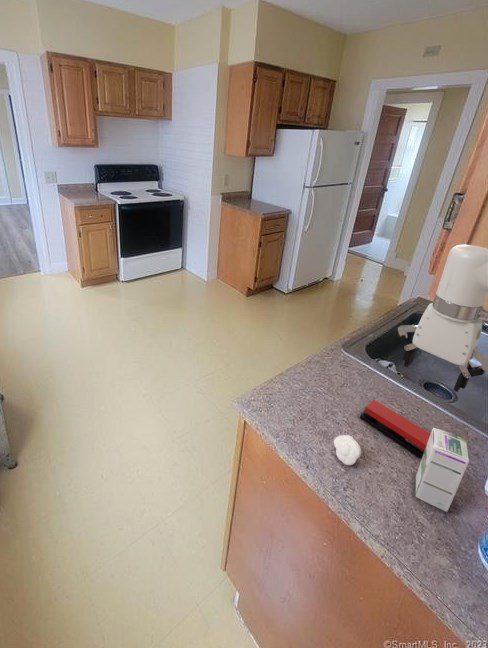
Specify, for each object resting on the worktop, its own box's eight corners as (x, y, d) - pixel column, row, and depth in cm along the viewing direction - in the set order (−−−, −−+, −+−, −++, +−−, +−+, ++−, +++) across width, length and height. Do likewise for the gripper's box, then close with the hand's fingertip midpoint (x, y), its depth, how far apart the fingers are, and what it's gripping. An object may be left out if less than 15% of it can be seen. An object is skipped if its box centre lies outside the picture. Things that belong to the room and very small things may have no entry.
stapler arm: (435, 443, 76) (437, 437, 75) (427, 453, 73) (430, 447, 73) (371, 404, 87) (373, 398, 86) (363, 411, 84) (365, 406, 84)
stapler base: (434, 451, 77) (437, 445, 76) (426, 463, 74) (429, 456, 73) (368, 409, 88) (370, 403, 88) (359, 418, 86) (361, 412, 85)
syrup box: (448, 513, 64) (472, 461, 58) (413, 497, 67) (433, 446, 61) (446, 489, 68) (468, 439, 63) (413, 474, 71) (432, 425, 66)
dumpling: (364, 466, 73) (366, 457, 71) (342, 471, 73) (344, 462, 71) (348, 436, 79) (350, 427, 77) (328, 441, 79) (329, 432, 76)
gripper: (517, 319, 60) (485, 391, 66) (415, 287, 73) (397, 350, 79) (507, 332, 56) (474, 408, 62) (401, 295, 68) (383, 362, 75)
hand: (431, 375), depth 70 cm, fingers open, 9 cm apart
